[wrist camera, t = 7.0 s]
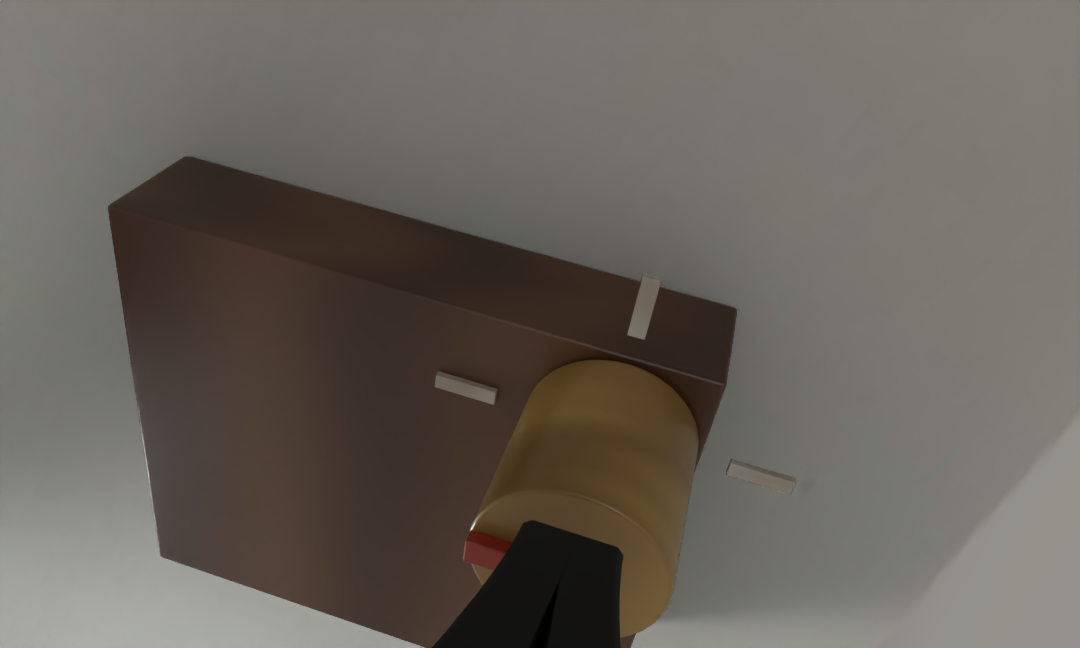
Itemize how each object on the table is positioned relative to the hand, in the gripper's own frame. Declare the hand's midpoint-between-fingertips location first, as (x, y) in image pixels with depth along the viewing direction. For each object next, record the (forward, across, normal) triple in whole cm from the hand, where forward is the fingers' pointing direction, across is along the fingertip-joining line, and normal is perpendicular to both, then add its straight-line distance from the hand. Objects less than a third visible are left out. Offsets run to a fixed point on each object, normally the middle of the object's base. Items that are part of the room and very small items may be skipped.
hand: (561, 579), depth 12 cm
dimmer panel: (+9, +4, +6) cm, 12 cm away
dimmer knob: (+6, 0, +3) cm, 7 cm away
